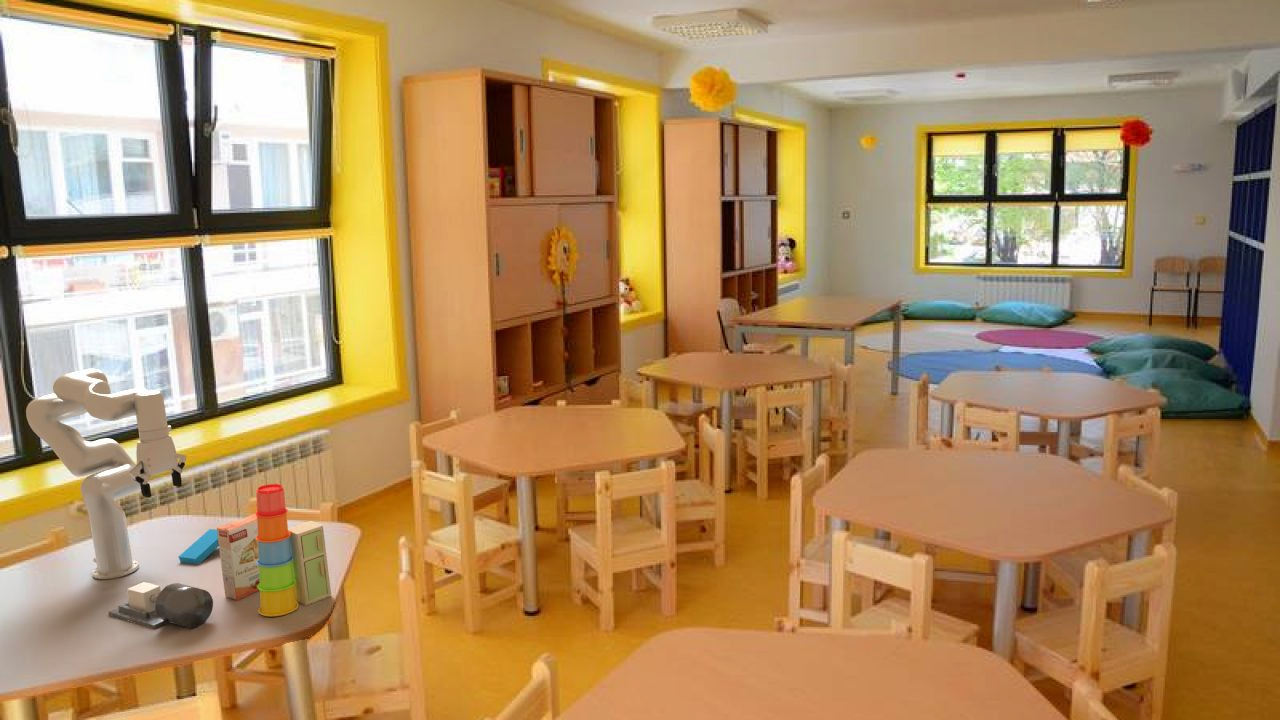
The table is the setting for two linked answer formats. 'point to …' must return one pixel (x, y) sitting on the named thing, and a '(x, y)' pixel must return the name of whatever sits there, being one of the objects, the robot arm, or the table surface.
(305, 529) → the toy refrigerator
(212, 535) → the blue ramp
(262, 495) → the stacking cups
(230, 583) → the cracker box
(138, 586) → the block
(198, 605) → the electric bell
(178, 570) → the table surface
